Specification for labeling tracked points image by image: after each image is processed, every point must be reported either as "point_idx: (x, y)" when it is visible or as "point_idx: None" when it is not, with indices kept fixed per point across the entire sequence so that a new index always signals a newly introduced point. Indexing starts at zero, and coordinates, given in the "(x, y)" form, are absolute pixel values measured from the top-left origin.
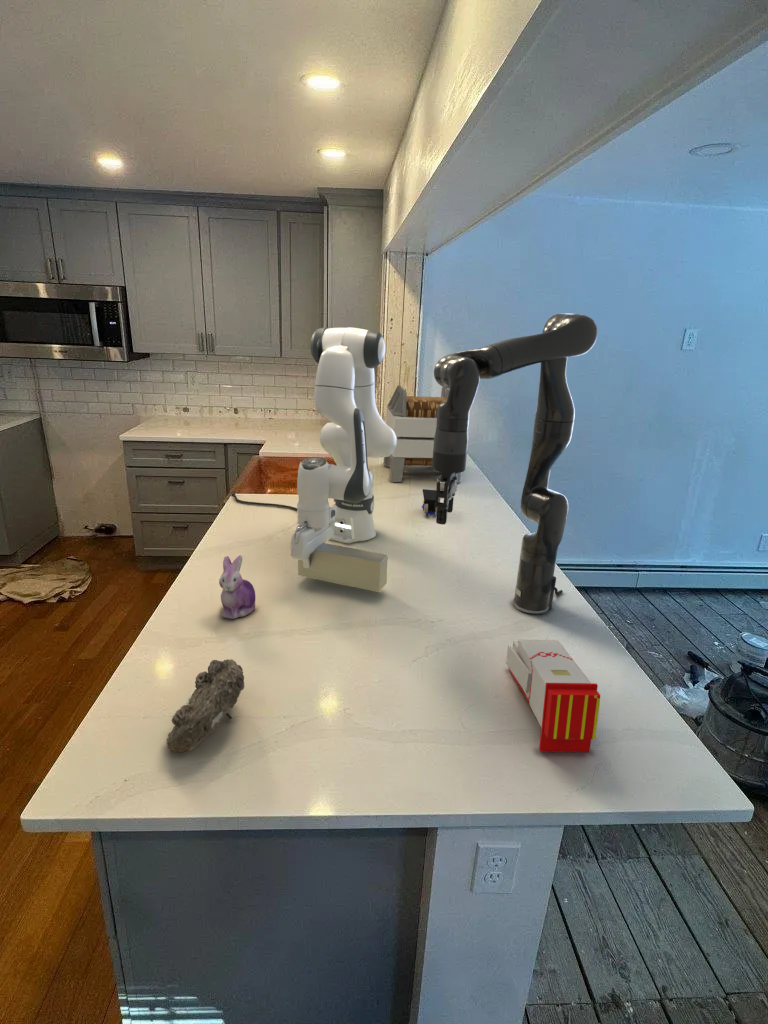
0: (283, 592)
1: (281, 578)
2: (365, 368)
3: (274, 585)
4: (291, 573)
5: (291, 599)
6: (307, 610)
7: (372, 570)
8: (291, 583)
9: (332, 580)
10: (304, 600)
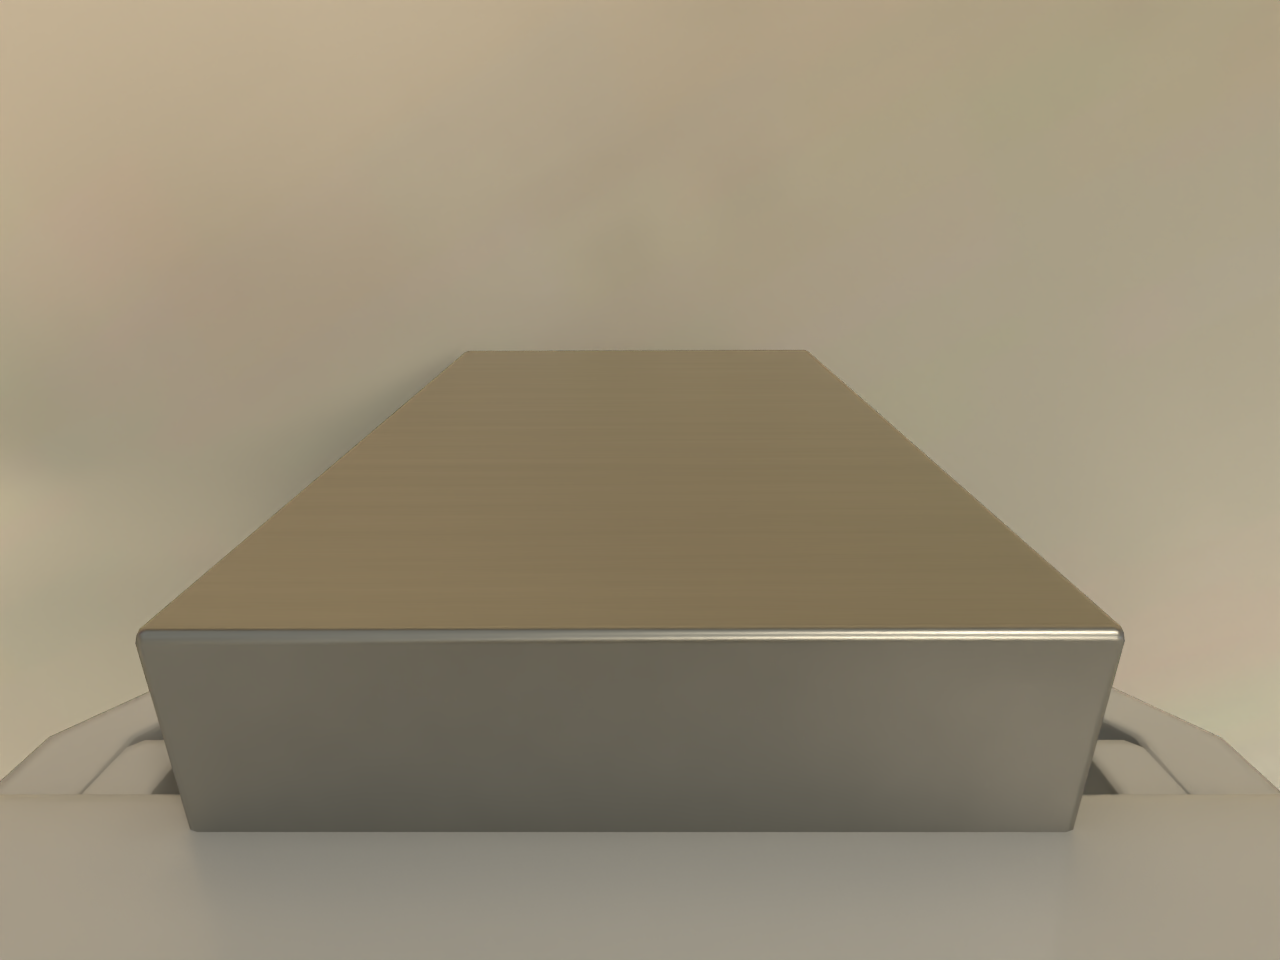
0: (141, 290)
1: (484, 6)
2: None
3: (224, 36)
4: (717, 70)
5: (69, 474)
6: (8, 721)
7: None
8: (421, 254)
9: None
10: (151, 610)
